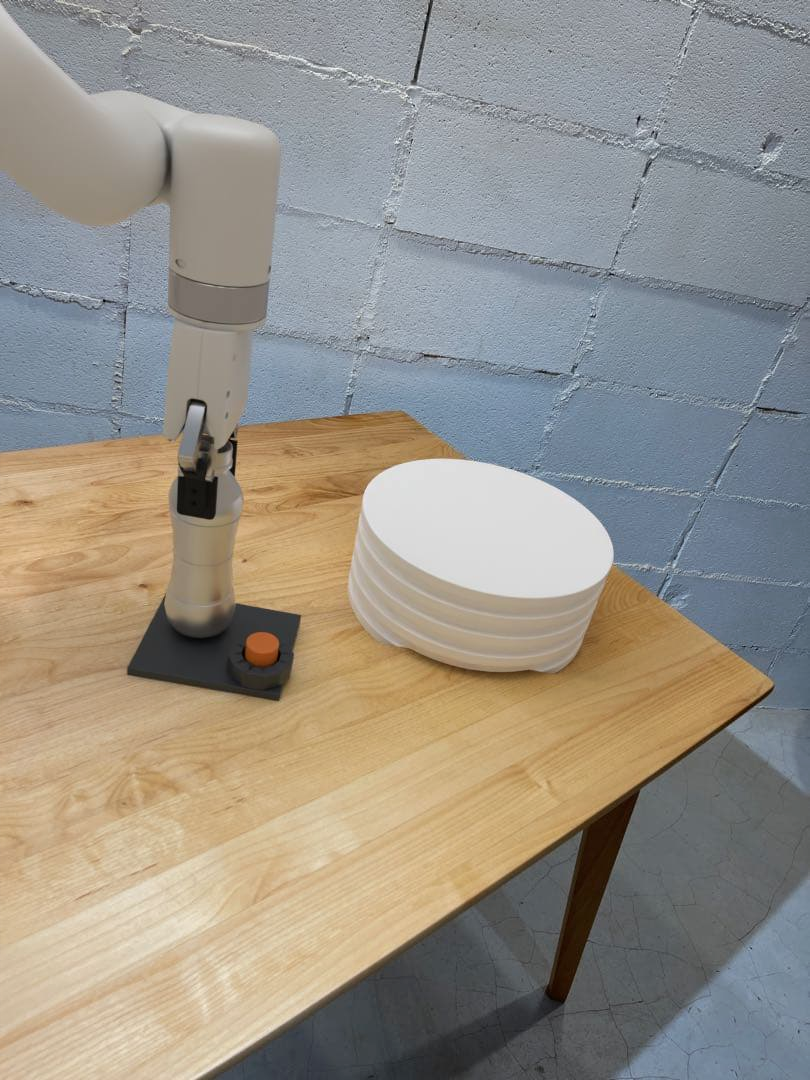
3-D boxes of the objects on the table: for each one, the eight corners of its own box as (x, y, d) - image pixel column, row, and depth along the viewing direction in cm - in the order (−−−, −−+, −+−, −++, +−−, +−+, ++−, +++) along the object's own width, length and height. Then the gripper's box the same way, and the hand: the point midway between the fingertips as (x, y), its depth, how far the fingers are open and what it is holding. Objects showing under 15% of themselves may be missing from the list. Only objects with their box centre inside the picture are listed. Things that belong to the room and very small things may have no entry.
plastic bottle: (220, 654, 77) (237, 470, 67) (151, 636, 78) (157, 450, 67) (242, 614, 83) (261, 438, 72) (178, 598, 83) (187, 420, 72)
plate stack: (622, 616, 99) (655, 537, 93) (497, 727, 79) (528, 636, 73) (442, 513, 112) (461, 439, 106) (296, 586, 92) (308, 499, 86)
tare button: (241, 664, 75) (243, 649, 74) (248, 643, 77) (250, 629, 76) (274, 670, 75) (275, 655, 74) (280, 649, 77) (281, 634, 76)
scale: (126, 685, 75) (126, 652, 73) (166, 607, 85) (167, 576, 83) (282, 712, 76) (287, 680, 73) (303, 631, 86) (307, 601, 84)
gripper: (200, 259, 70) (191, 445, 79) (132, 320, 55) (131, 539, 65) (286, 276, 70) (267, 460, 80) (241, 341, 56) (225, 556, 65)
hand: (207, 494), depth 72 cm, fingers closed on plastic bottle, 6 cm apart
